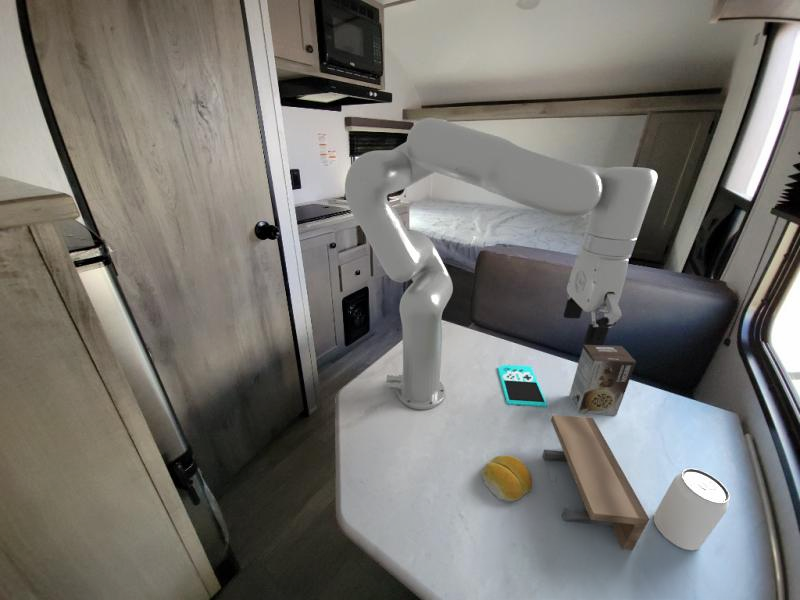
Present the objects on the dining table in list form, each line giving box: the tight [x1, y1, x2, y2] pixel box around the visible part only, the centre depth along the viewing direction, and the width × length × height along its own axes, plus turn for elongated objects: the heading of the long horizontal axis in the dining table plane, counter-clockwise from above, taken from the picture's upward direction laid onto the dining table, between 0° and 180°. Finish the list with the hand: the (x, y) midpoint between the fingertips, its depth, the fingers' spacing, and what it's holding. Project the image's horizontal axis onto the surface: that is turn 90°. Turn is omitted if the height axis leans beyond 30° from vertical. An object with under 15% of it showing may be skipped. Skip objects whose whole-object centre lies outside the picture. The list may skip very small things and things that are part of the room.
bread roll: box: [482, 455, 533, 502], centre depth 62 cm, size 8×9×4 cm
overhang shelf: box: [541, 414, 650, 551], centre depth 59 cm, size 10×20×8 cm, turn 174°
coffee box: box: [569, 344, 637, 416], centre depth 77 cm, size 9×6×16 cm
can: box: [653, 467, 731, 551], centre depth 52 cm, size 6×6×12 cm
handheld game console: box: [497, 364, 548, 408], centre depth 88 cm, size 10×16×1 cm, turn 174°
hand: (581, 329), depth 62 cm, fingers open, 9 cm apart
